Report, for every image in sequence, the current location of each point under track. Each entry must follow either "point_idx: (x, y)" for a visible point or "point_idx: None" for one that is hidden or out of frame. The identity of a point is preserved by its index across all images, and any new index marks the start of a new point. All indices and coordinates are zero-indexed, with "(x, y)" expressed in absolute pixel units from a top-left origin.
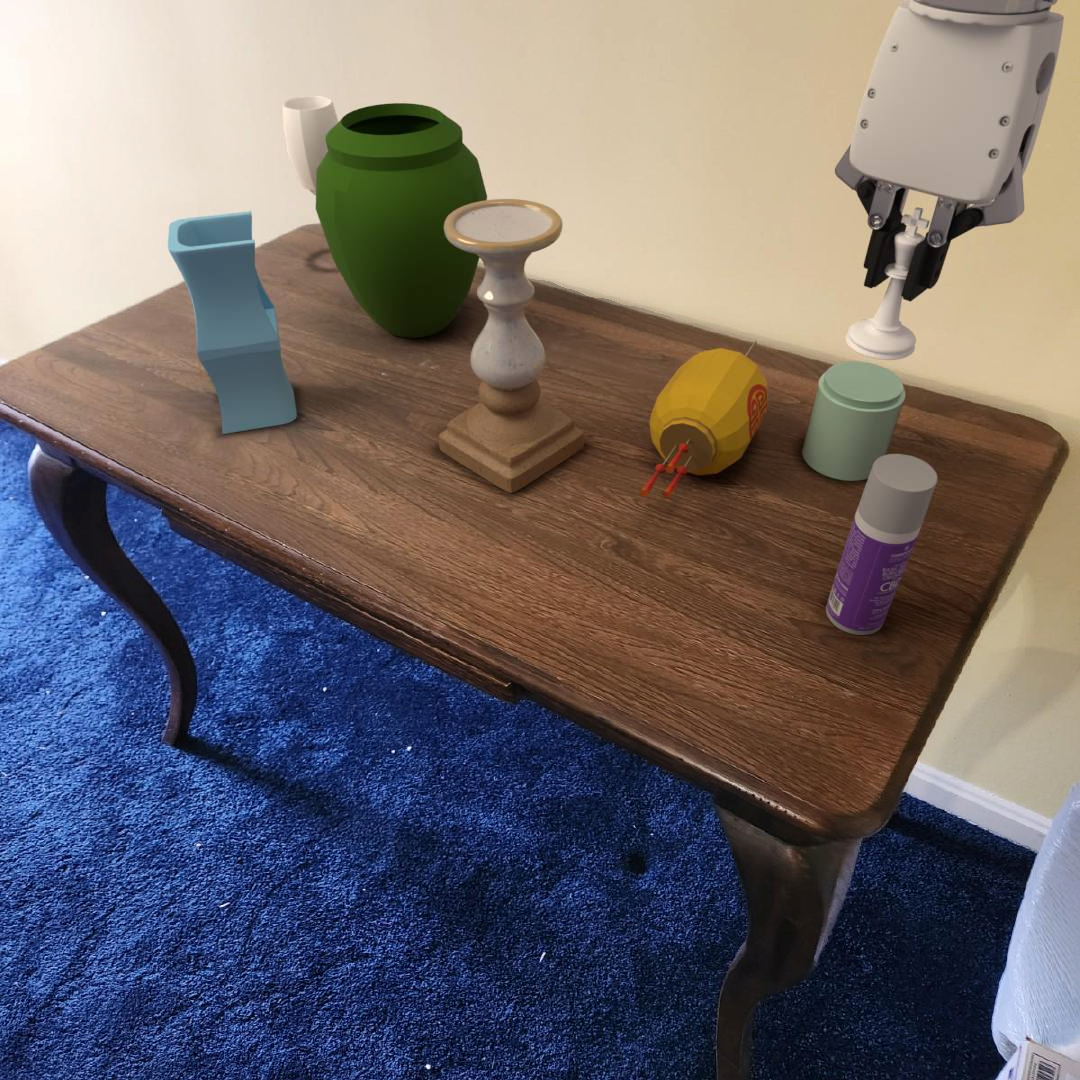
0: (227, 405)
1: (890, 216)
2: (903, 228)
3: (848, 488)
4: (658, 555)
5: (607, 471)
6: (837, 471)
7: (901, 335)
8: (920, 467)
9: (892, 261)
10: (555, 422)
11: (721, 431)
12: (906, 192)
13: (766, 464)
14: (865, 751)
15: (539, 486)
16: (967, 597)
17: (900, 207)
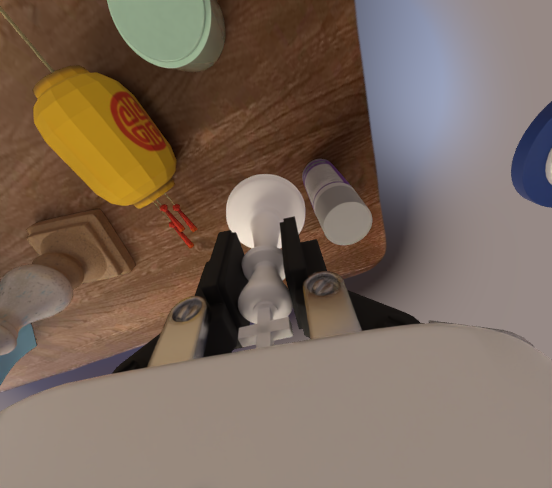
0: (20, 355)
1: (224, 350)
2: (229, 292)
3: (226, 66)
4: (220, 231)
5: (133, 211)
6: (209, 65)
7: (288, 216)
8: (353, 211)
9: (238, 259)
10: (85, 237)
11: (162, 182)
12: (200, 354)
13: (169, 104)
14: (371, 234)
15: (134, 250)
16: (359, 97)
17: (207, 329)
